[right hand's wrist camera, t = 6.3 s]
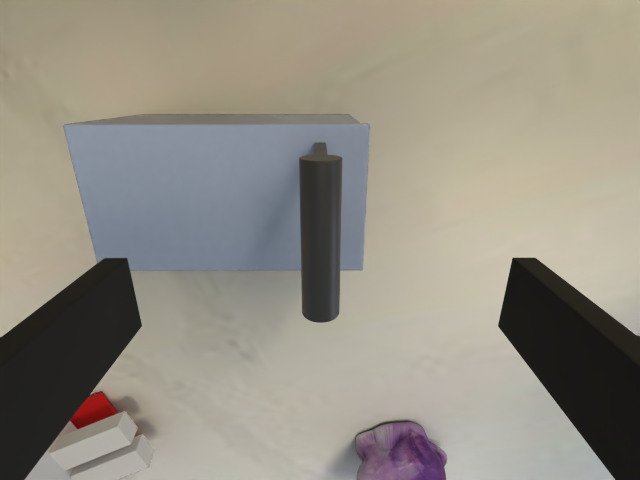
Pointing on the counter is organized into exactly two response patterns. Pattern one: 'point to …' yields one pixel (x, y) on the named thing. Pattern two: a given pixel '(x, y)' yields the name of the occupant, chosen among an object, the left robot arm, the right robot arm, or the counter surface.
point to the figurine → (399, 454)
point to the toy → (95, 446)
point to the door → (228, 198)
